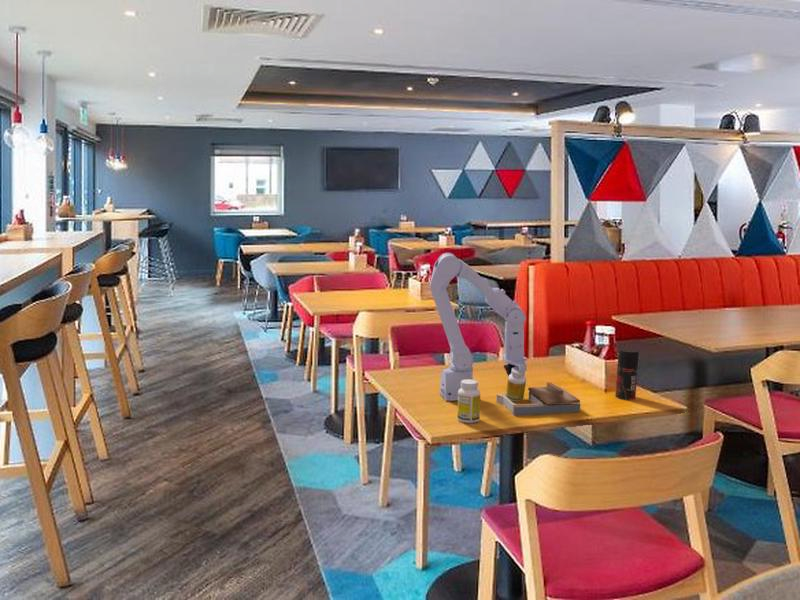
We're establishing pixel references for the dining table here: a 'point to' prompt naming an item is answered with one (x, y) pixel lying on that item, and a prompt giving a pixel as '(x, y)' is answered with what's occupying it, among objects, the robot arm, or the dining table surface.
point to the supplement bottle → (516, 385)
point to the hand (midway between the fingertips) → (514, 387)
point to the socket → (537, 406)
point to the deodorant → (627, 373)
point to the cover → (553, 394)
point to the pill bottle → (469, 401)
